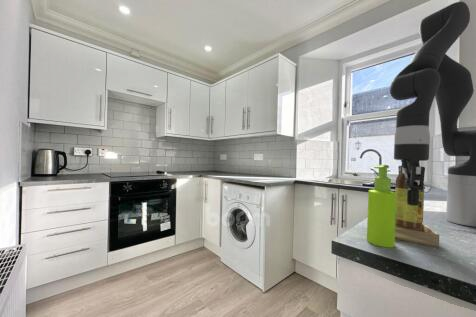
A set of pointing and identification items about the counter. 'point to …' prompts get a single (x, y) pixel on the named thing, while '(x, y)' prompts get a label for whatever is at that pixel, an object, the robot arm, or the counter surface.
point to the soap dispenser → (381, 211)
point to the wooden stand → (417, 235)
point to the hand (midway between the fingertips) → (408, 202)
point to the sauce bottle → (404, 212)
